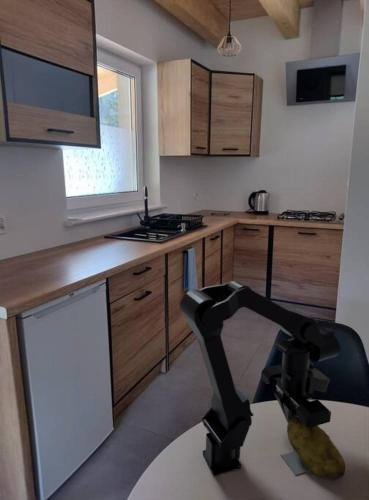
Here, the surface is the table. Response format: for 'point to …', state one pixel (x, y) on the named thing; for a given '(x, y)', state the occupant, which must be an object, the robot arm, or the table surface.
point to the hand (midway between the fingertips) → (290, 423)
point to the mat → (295, 463)
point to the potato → (316, 449)
